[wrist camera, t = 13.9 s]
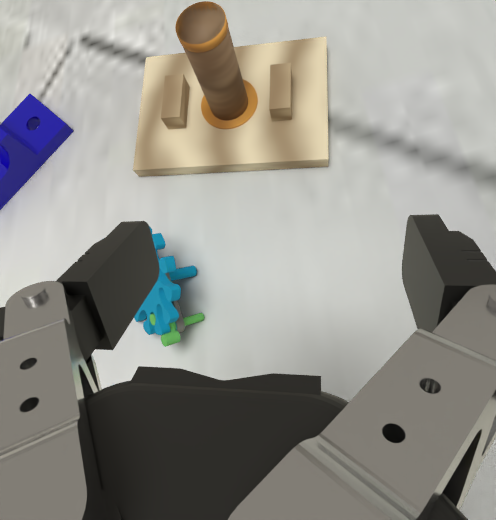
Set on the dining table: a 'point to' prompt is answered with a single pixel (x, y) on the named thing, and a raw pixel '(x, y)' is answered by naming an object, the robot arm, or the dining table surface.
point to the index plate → (245, 126)
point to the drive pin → (213, 58)
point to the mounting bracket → (27, 144)
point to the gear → (166, 300)
